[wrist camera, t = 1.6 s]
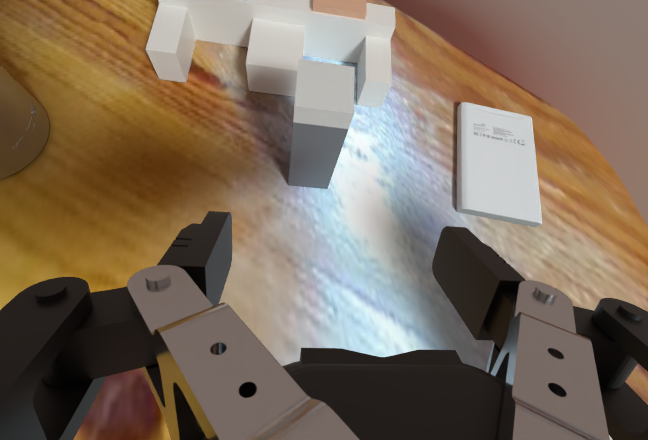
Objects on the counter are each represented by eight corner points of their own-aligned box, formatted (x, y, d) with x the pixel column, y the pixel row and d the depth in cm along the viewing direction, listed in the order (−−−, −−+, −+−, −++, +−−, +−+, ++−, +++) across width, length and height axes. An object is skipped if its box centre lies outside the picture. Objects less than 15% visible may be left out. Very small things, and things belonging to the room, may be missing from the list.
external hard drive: (453, 213, 32) (454, 109, 36) (531, 228, 32) (523, 125, 36) (462, 207, 30) (462, 100, 34) (544, 223, 31) (534, 116, 35)
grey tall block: (288, 184, 30) (294, 105, 19) (291, 150, 31) (298, 59, 20) (327, 188, 30) (353, 113, 20) (328, 154, 31) (354, 67, 21)
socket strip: (159, 79, 31) (135, 28, 26) (175, 18, 34) (157, -40, 29) (380, 108, 34) (399, 67, 29) (379, 49, 37) (396, 1, 31)
